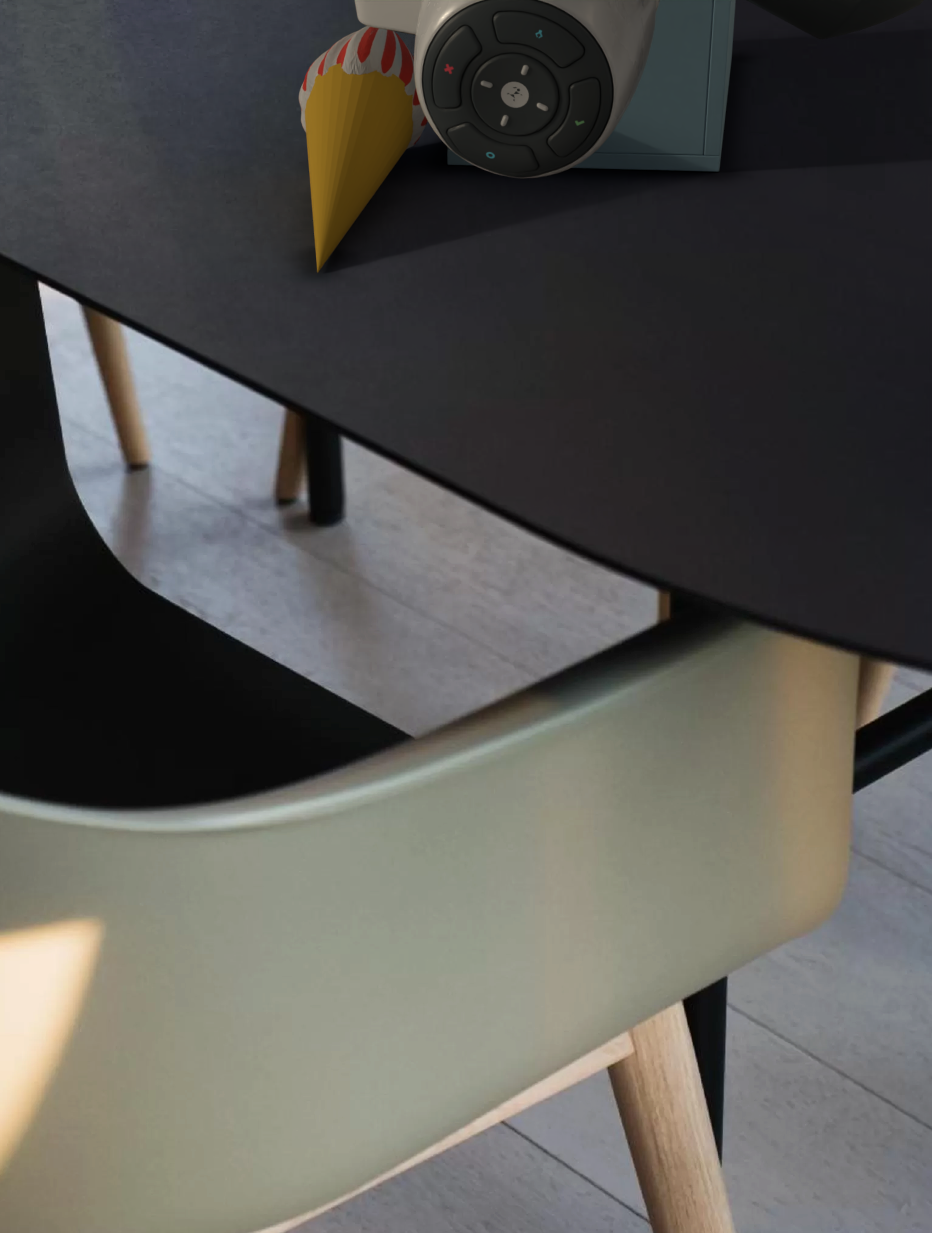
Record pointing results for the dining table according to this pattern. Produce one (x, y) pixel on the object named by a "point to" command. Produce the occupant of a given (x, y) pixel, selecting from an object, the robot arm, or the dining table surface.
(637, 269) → the dining table surface
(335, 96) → the ice cream cone
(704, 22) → the bin
